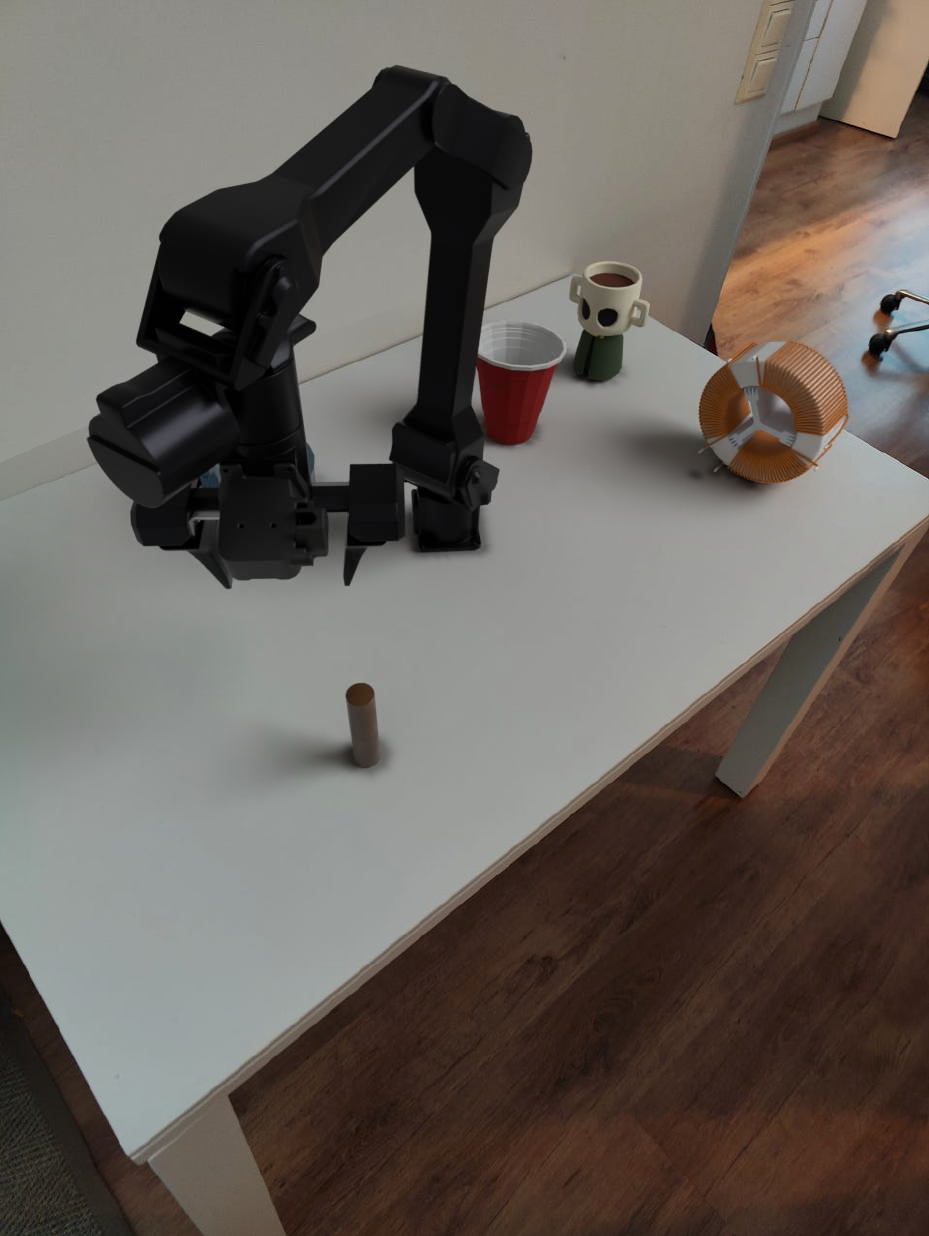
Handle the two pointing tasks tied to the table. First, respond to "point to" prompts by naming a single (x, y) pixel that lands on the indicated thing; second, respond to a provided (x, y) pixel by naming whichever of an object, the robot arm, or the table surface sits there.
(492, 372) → the plastic cup
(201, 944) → the table surface
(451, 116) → the robot arm
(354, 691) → the brown cylindrical peg
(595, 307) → the character mug
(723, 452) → the coil
